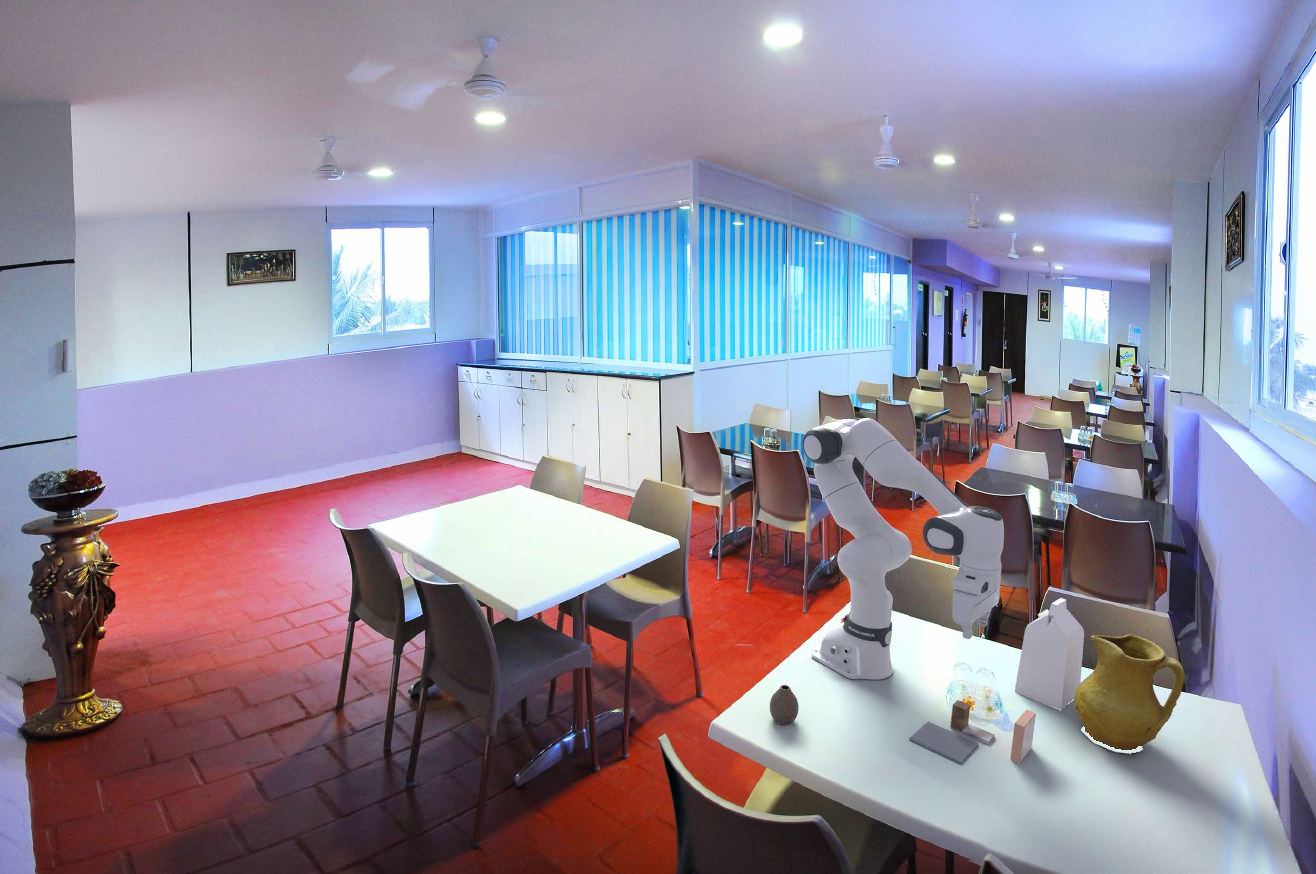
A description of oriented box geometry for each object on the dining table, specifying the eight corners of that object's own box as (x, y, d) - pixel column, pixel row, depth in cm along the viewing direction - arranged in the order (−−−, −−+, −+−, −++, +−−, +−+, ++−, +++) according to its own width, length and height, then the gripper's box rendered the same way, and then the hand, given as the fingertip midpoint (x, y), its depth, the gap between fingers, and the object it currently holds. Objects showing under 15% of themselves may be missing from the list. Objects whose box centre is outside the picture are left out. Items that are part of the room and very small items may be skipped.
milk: (1061, 711, 175) (1073, 615, 170) (1014, 691, 183) (1025, 599, 179) (1079, 695, 182) (1092, 603, 178) (1034, 677, 191) (1045, 589, 186)
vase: (783, 732, 163) (785, 698, 162) (763, 718, 169) (764, 685, 167) (803, 722, 167) (805, 689, 166) (782, 709, 173) (784, 677, 171)
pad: (909, 740, 161) (909, 738, 161) (927, 723, 168) (927, 721, 168) (961, 764, 153) (961, 762, 153) (978, 745, 160) (978, 743, 160)
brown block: (949, 727, 166) (951, 705, 165) (956, 721, 169) (958, 699, 168) (988, 744, 160) (990, 721, 159) (994, 737, 163) (997, 714, 162)
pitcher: (1097, 709, 175) (1114, 619, 169) (1177, 754, 159) (1199, 657, 153) (1053, 726, 168) (1069, 633, 162) (1131, 776, 152) (1152, 675, 146)
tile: (1010, 759, 155) (1014, 723, 153) (1022, 744, 161) (1026, 709, 159) (1020, 763, 153) (1024, 727, 152) (1031, 748, 159) (1036, 713, 158)
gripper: (982, 562, 171) (977, 615, 173) (948, 583, 157) (944, 640, 159) (1009, 568, 167) (1004, 622, 169) (977, 590, 152) (972, 649, 155)
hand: (975, 631), depth 164 cm, fingers open, 8 cm apart
